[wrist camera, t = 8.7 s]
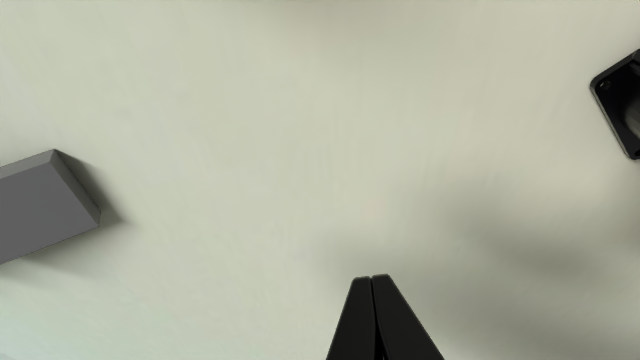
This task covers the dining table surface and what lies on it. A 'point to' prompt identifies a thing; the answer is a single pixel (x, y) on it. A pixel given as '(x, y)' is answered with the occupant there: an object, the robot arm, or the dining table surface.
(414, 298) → the dining table surface
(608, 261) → the dining table surface
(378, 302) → the robot arm
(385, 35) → the dining table surface
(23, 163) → the domino
